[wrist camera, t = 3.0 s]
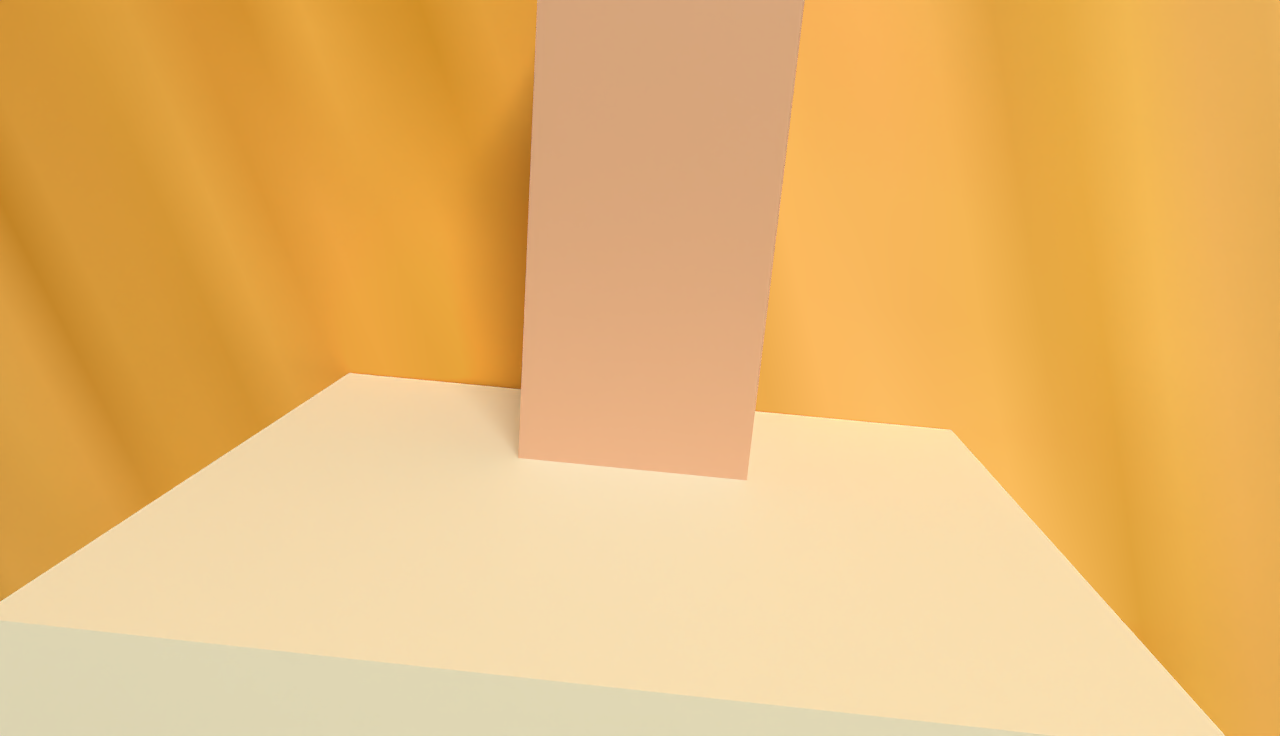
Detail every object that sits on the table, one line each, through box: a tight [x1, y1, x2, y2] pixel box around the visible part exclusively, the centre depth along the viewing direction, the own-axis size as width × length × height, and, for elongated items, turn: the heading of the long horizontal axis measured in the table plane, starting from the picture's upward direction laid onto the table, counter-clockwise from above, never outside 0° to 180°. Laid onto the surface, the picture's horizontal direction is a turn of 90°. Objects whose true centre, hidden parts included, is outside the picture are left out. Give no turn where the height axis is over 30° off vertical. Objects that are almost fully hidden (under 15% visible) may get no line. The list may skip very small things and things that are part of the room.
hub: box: [0, 0, 1225, 736], centre depth 8 cm, size 13×8×6 cm, turn 176°
